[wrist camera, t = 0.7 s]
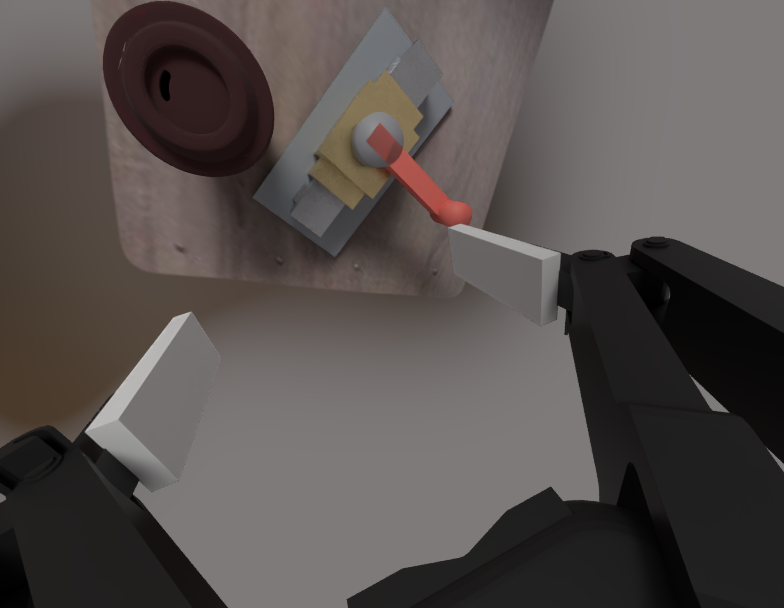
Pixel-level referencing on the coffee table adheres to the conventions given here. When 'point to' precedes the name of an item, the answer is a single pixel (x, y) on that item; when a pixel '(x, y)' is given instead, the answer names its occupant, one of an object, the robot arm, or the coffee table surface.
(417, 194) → the lever
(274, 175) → the mount board
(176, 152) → the coffee cup
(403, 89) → the pipe valve
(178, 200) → the coffee table surface
